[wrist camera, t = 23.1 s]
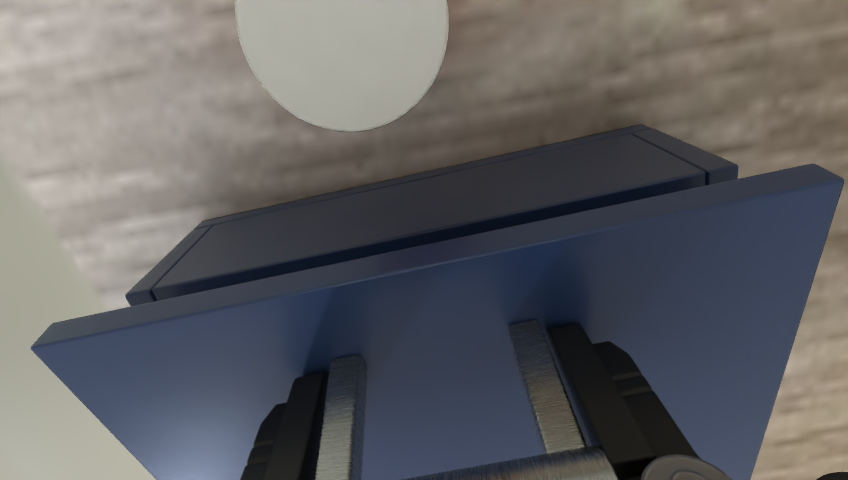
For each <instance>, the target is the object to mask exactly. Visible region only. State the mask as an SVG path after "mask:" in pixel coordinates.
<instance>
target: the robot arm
mask: <svg viewBox="0 0 848 480" xmlns="http://www.w3.org/2000/svg"><path fill="white" fill-rule="evenodd" d="M546 337H547V343H548V346H549V348H550V351H551V354H552V356H553V359H554V361H555V364H556V366H557V369H558V372H559V374H560V377H561V379H562V382H563V385H564V387H565V390H566V392H567V395H568V397H569V400H570V403H571V405H572V408H573V410H574V413H575V416H576V418H577V421H578V423H579V426H580V428H581V431H582V434H583V436H584V439H585V441H586V444H587V446H593V445H597V446H600V447H601V448H602V449H603V450H604V452H605V453H606V455H607V456H608V458H609V460H610V462H611V464H612V466H613V468H614V470H615V472H616V475H617V477H618V480H732V479H731V478H730V477H729V476H728V475H727V474H725V473H724V472H723V471H722V470H720V469H719V468H718V467H716V466H714V465H713V464H711V463H709V462H707V461H704V460H702V459H701V458H700V457H699V456H698V455H697V454H696V452H695V451H694V450H693V448H692V447H691V445H690V444H689V442H688V441H687V439H686V438H685V436H684V435H683V433H682V432H681V430H680V429H679V427H678V426H677V424H676V423H675V421H674V420H673V418H672V417H671V416H670V414H669V413H668V411H667V410H666V408H665V407H664V405H663V404H662V402H661V401H660V399H659V398H658V396H657V395H656V393H655V392H654V391H652V388H651V386H650V384H649V383H648V381H647V380H646V378H645V377H644V376H642V374H641V371H640V370H639V368H638V367H637V365H636V364H635V362H634V361H633V359H632V358H631V356H630V355H629V354H628V353H627V352H625V351H624V350H622V349H621V348H619V347H618V346H616V345H615V344H613V343H612V342H610V341H605V342H600V343H595V344H592V342H591V341H590V339H589V337H588V336H587V334H586V332H585V330H584V329H583V327H582V325H581V324H580V323H575V324H570V325H565V326H560V327H555V328H550V329H547V330H546ZM328 379H329V372H323V373H318V374H313V375H307V376H302V377H297V378H296V379H295V380H294V382H293V384H292V387H291V391H290V394H289V397H288V400H287V403H281V404H276V405H275V407H274V408H273V409H272V410H271V412H270V413H269V414H268V415H267V417H266V418H265V419H264V421H263V422H262V423H261V425H260V428H259V430H258V433H257V436H256V438H255V441H254V444H253V445H254V448H252V449H251V452H250V455H249V457H248V460H247V466H245V468H244V471H243V474H242V476H241V479H240V480H314V474H315V467H316V460H317V453H318V447H319V440H320V433H321V426H322V420H323V413H324V406H325V399H326V392H327V386H328ZM817 480H848V472H836V473H830V474H826V475H823V476H822V477H820V478H818V479H817Z"/></svg>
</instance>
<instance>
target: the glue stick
mask: <svg viewBox="0 0 848 480" xmlns="http://www.w3.org/2000/svg"><path fill="white" fill-rule="evenodd" d="M235 18H236V27H237V31H238V36H239V40H240V44H241V47H242V49H243V52H244V55H245V58H246V60H247V62H248V64H249V66H250V68H251V70H252V72H253V73H254V75H255V76H256V78H257V80H258V81H259V83H260V84H261V85H262V86H263V88H264V89H265V90H266V91H267V93H268V94H269V95H270V96H271V97H272V98H273V99H274V100H275V101H276V102H277V103H278V104H279V105H281V106H282V107H283V108H284V109H286V110H287V111H288V112H290V113H291V114H293V115H294V116H296V117H298V118H299V119H301V120H303V121H305V122H307V123H310V124H312V125H314V126H317V127H321V128H324V129H328V130H333V131H339V132H359V131H367V130H371V129H376V128H379V127H381V126H384V125H387V124H389V123H391V122H393V121H395V120H397V119H399V118H400V117H402V116H403V115H405V114H406V113H407V112H409V111H410V110H411V109H412V108H413V107H414V106H415V105H417V104H418V103H419V102H420V100H421V99H422V98H423V97H424V96H425V94H426V93H427V92H428V90H429V89H430V87H431V86H432V84H433V83H434V81H435V79H436V77H437V75H438V73H439V70H440V68H441V66H442V62H443V59H444V56H445V53H446V47H447V42H448V33H449V12H448V4H447V0H235Z"/></svg>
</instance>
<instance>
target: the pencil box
mask: <svg viewBox="0 0 848 480" xmlns="http://www.w3.org/2000/svg"><path fill="white" fill-rule="evenodd" d="M737 177H738V165H737V164H734V163H732V162H730V161H728V160H725V159H723V158H721V157H718V156H716V155H714V154H711V153H709V152H707V151H704V150H702V149H700V148H697V147H695V146H693V145H691V144H688V143H686V142H684V141H681V140H679V139H677V138H674V137H672V136H670V135H667V134H665V133H663V132H661V131H658V130H656V129H652V128H650V127H648V126H646V125H643V124H641V125H636V126H631V127H627V128H622V129H618V130H613V131H609V132H604V133H600V134H595V135H591V136H586V137H582V138H577V139H573V140H568V141H564V142H559V143H555V144H550V145H545V146H541V147H536V148H532V149H527V150H523V151H518V152H514V153H509V154H505V155H500V156H496V157H491V158H487V159H482V160H478V161H473V162H468V163H464V164H459V165H455V166H450V167H446V168H441V169H437V170H432V171H428V172H423V173H419V174H414V175H410V176H405V177H401V178H396V179H392V180H387V181H382V182H378V183H373V184H369V185H364V186H360V187H355V188H351V189H346V190H342V191H337V192H333V193H328V194H324V195H319V196H315V197H310V198H305V199H301V200H296V201H292V202H287V203H283V204H278V205H274V206H269V207H265V208H260V209H256V210H251V211H247V212H242V213H238V214H233V215H229V216H224V217H219V218H215V219H210V220H206V221H202V222H201V223H200V224H199V225H198V226H197V227H196V228H195V229H194V230H193V231H191V232H190V233H189V234H188V235H187V236H186V237H185V238H184V239H183V240H182V241H181V242H180V243H179V244H178V245H177V246H176V247H175V248H174V249H173V250H172V251H171V252H170V253H168V254H167V255H166V256H165V257H164V258H163V259H162V260H161V261H160V262H159V263H158V264H157V265H156V266H155V267H154V268H153V269H152V270H151V271H150V272H149V273H148V274H147V275H145V276H144V277H143V278H142V279H141V280H140V281H139V282H138V283H137V284H136V285H135V286H134V287H133V288H132V289H131V290H130V291H129V292H128V293H127V294H126V295H125V296H126V299H127V301H128V302H129V304H130V306H131V307H132V306H137V305H141V304H146V303H151V302H156V301H160V300H165V299H170V298H175V297H179V296H184V295H189V294H194V293H198V292H203V291H208V290H213V289H217V288H222V287H227V286H232V285H236V284H241V283H246V282H251V281H255V280H260V279H265V278H270V277H274V276H279V275H284V274H289V273H293V272H298V271H303V270H308V269H313V268H317V267H322V266H327V265H332V264H336V263H341V262H346V261H351V260H355V259H360V258H365V257H370V256H374V255H379V254H384V253H389V252H393V251H398V250H403V249H408V248H412V247H417V246H422V245H427V244H431V243H436V242H441V241H446V240H450V239H455V238H460V237H465V236H469V235H474V234H479V233H484V232H489V231H493V230H498V229H503V228H508V227H512V226H517V225H522V224H527V223H531V222H536V221H541V220H546V219H550V218H555V217H560V216H565V215H569V214H574V213H579V212H584V211H588V210H593V209H598V208H603V207H607V206H612V205H617V204H622V203H626V202H631V201H636V200H641V199H645V198H650V197H655V196H660V195H665V194H669V193H674V192H679V191H684V190H688V189H693V188H698V187H703V186H707V185H712V184H717V183H722V182H726V181H731V180H736V179H737Z"/></svg>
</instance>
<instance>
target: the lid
mask: <svg viewBox="0 0 848 480" xmlns="http://www.w3.org/2000/svg"><path fill="white" fill-rule="evenodd" d="M843 184H844V179H843V178H841V177H839V176H838V175H836V174H834V173H832V172H830V171H828V170H826V169H824V168H822V167H820V166H818V165H816V164H807V165H802V166H798V167H793V168H788V169H783V170H779V171H774V172H769V173H764V174H760V175H755V176H750V177H745V178H741V179H736V180H731V181H726V182H722V183H717V184H712V185H707V186H703V187H698V188H693V189H688V190H684V191H679V192H674V193H669V194H665V195H660V196H655V197H650V198H645V199H641V200H636V201H631V202H626V203H622V204H617V205H612V206H607V207H603V208H598V209H593V210H588V211H584V212H579V213H574V214H569V215H565V216H560V217H555V218H550V219H546V220H541V221H536V222H531V223H527V224H522V225H517V226H512V227H508V228H503V229H498V230H493V231H489V232H484V233H479V234H474V235H469V236H465V237H460V238H455V239H450V240H446V241H441V242H436V243H431V244H427V245H422V246H417V247H412V248H408V249H403V250H398V251H393V252H389V253H384V254H379V255H374V256H370V257H365V258H360V259H355V260H351V261H346V262H341V263H336V264H332V265H327V266H322V267H317V268H313V269H308V270H303V271H298V272H293V273H289V274H284V275H279V276H274V277H270V278H265V279H260V280H255V281H251V282H246V283H241V284H236V285H232V286H227V287H222V288H217V289H213V290H208V291H203V292H198V293H194V294H189V295H184V296H179V297H175V298H170V299H165V300H160V301H156V302H151V303H146V304H141V305H137V306H132V307H127V308H122V309H117V310H113V311H108V312H103V313H98V314H94V315H89V316H85V317H80V318H75V319H70V320H65V321H60V322H56V323H53V324H51V325H50V326H49V327H48V328H47V330H46V331H45V332H44V333H43V334H42V335H41V336H40V337H39V338H38V340H37V341H36V342H35V343H34V344H33V345H32V346H31V350H32V351H33V352H34V353H35V354H36V355H37V356H38V357H39V358H40V359H41V360H42V361H43V362H44V363H45V364H46V365H47V366H48V367H49V369H50V370H51V371H52V372H53V373H54V374H55V375H56V376H57V377H58V378H59V379H60V380H61V381H62V382H63V383H64V384H65V385H66V386H67V387H68V388H69V389H70V390H71V391H72V392H73V393H74V395H75V396H76V397H77V398H78V399H79V400H80V401H81V402H82V403H83V404H84V405H85V406H86V407H87V408H88V409H89V410H90V411H91V412H92V413H93V414H94V415H95V416H96V417H97V418H98V419H99V420H100V422H101V423H102V424H103V425H104V426H105V427H106V428H107V429H108V430H109V431H110V432H111V433H112V434H113V435H114V436H115V437H116V438H117V439H118V440H119V441H120V442H121V443H122V444H123V445H124V446H125V447H126V449H127V450H128V451H129V452H130V453H131V454H132V455H133V456H134V457H135V458H136V459H137V460H138V461H139V462H140V463H141V464H142V465H143V466H144V467H145V468H146V469H147V470H148V471H149V472H150V473H151V474H152V476H154V478H155V479H156V480H240V479H241V476H242V474H243V471H244V468H245V466H247V460H248V457H249V455H250V452H251V449H252V448H254V445H253V444H254V441H255V438H256V436H257V433H258V430H259V428H260V425H261V423H262V422H263V421H264V419H265V418H266V417H267V415H268V414H269V413H270V412H271V410H272V409H273V408H274V407H275V405H276V404H281V403H287V400H288V397H289V394H290V391H291V387H292V384H293V382H294V380H295V379H296V378H297V377H302V376H307V375H313V374H318V373H323V372H329V379H328V386H327V392H326V399H325V406H324V413H323V420H322V426H321V433H320V440H319V447H318V453H317V460H316V467H315V474H314V480H618V477H617V475H616V472H615V470H614V468H613V466H612V464H611V462H610V460H609V458H608V456H607V455H606V453H605V452H604V450H603V449H602V448H601V447H600V446H597V445H593V446H587V444H586V441H585V439H584V436H583V434H582V431H581V428H580V426H579V423H578V421H577V418H576V416H575V413H574V410H573V408H572V405H571V403H570V400H569V397H568V395H567V392H566V390H565V387H564V385H563V382H562V379H561V377H560V374H559V372H558V369H557V366H556V364H555V361H554V359H553V356H552V354H551V351H550V348H549V346H548V343H547V337H546V330H547V329H550V328H555V327H560V326H565V325H570V324H575V323H580V324H581V325H582V327H583V329H584V330H585V332H586V334H587V336H588V337H589V339H590V341H591V342H592V344H595V343H600V342H605V341H610V342H612V343H613V344H615V345H616V346H618V347H619V348H621V349H622V350H624V351H625V352H627V353H628V354H629V355H630V356H631V358H632V359H633V361H634V362H635V364H636V365H637V367H638V368H639V370H640V371H641V374H642V376H644V377H645V378H646V380H647V381H648V383H649V384H650V386H651V388H652V391H654V392H655V393H656V395H657V396H658V398H659V399H660V401H661V402H662V404H663V405H664V407H665V408H666V410H667V411H668V413H669V414H670V416H671V417H672V418H673V420H674V421H675V423H676V424H677V426H678V427H679V429H680V430H681V432H682V433H683V435H684V436H685V438H686V439H687V441H688V442H689V444H690V445H691V447H692V448H693V450H694V451H695V452H696V454H697V455H698V456H699V457H700V458H701V459H702V460H704V461H707V462H709V463H711V464H713V465H714V466H716V467H718V468H719V469H720V470H722V471H723V472H724V473H725V474H727V475H728V476H729V477H730V478H731V479H732V480H750V479H751V476H752V473H753V469H754V466H755V463H756V460H757V457H758V454H759V450H760V447H761V444H762V441H763V438H764V434H765V431H766V428H767V425H768V422H769V419H770V415H771V412H772V409H773V406H774V403H775V400H776V396H777V393H778V390H779V387H780V384H781V381H782V377H783V374H784V371H785V368H786V365H787V362H788V358H789V355H790V352H791V349H792V346H793V342H794V339H795V336H796V333H797V330H798V327H799V323H800V320H801V317H802V314H803V311H804V308H805V304H806V301H807V298H808V295H809V292H810V289H811V285H812V282H813V279H814V276H815V273H816V270H817V266H818V263H819V260H820V257H821V254H822V251H823V247H824V244H825V241H826V238H827V235H828V231H829V228H830V225H831V222H832V219H833V216H834V212H835V209H836V206H837V203H838V200H839V197H840V193H841V190H842V187H843Z"/></svg>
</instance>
